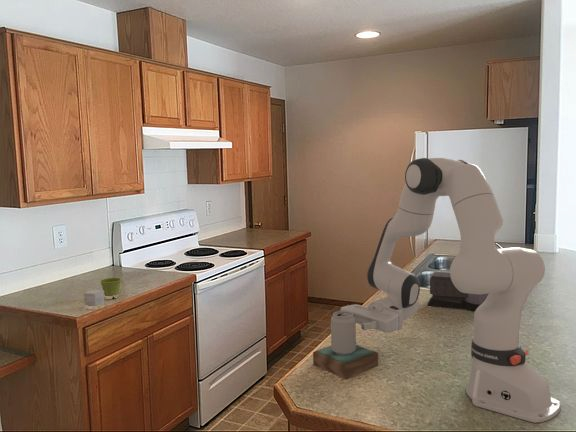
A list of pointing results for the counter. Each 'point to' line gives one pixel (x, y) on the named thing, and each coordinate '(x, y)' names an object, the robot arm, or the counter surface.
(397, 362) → the counter surface
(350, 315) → the can
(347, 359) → the plinth
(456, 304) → the juicer
